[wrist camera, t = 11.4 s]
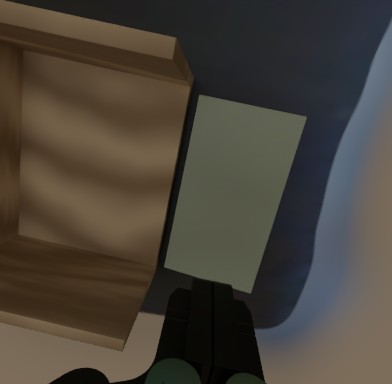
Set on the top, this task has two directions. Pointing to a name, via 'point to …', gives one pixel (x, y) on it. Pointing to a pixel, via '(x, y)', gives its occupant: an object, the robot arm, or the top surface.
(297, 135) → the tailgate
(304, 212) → the top surface
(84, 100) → the crate
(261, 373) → the robot arm
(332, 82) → the top surface
